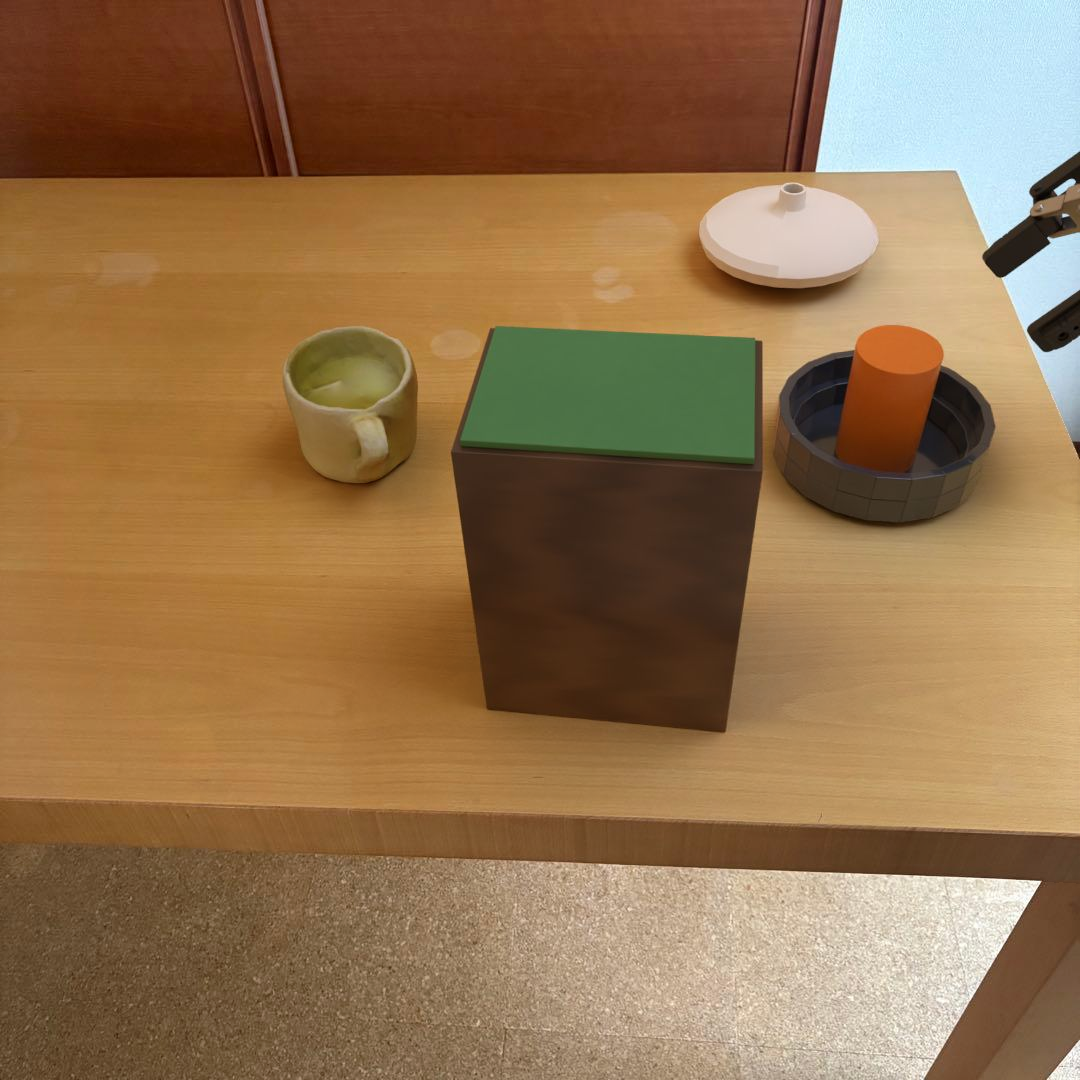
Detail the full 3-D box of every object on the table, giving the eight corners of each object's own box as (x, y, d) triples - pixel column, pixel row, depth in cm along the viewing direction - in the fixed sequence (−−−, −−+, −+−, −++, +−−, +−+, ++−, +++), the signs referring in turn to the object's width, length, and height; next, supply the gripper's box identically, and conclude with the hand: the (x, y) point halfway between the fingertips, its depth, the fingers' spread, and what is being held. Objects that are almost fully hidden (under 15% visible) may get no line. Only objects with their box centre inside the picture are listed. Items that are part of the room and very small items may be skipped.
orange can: (910, 430, 77) (938, 326, 70) (918, 480, 73) (949, 376, 66) (833, 425, 77) (853, 322, 71) (836, 475, 74) (858, 371, 67)
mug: (274, 394, 81) (287, 300, 73) (403, 408, 84) (430, 319, 76) (271, 523, 74) (286, 433, 67) (412, 532, 77) (442, 448, 70)
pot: (963, 403, 80) (978, 354, 76) (992, 535, 70) (1010, 485, 66) (771, 392, 81) (778, 344, 78) (773, 520, 72) (780, 471, 68)
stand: (729, 602, 67) (762, 340, 52) (725, 732, 60) (763, 471, 45) (514, 584, 68) (489, 327, 54) (486, 709, 62) (450, 451, 47)
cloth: (754, 344, 52) (755, 337, 52) (753, 465, 46) (754, 457, 45) (496, 332, 54) (495, 325, 54) (460, 446, 48) (459, 439, 47)
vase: (768, 329, 88) (778, 254, 83) (663, 249, 97) (666, 177, 92) (910, 274, 93) (928, 200, 88) (796, 203, 102) (806, 132, 97)
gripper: (1186, 22, 61) (945, 213, 70) (1319, 126, 51) (1019, 334, 60) (1238, 107, 65) (1003, 278, 73) (1372, 219, 55) (1083, 403, 63)
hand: (1011, 303), depth 66 cm, fingers open, 8 cm apart
